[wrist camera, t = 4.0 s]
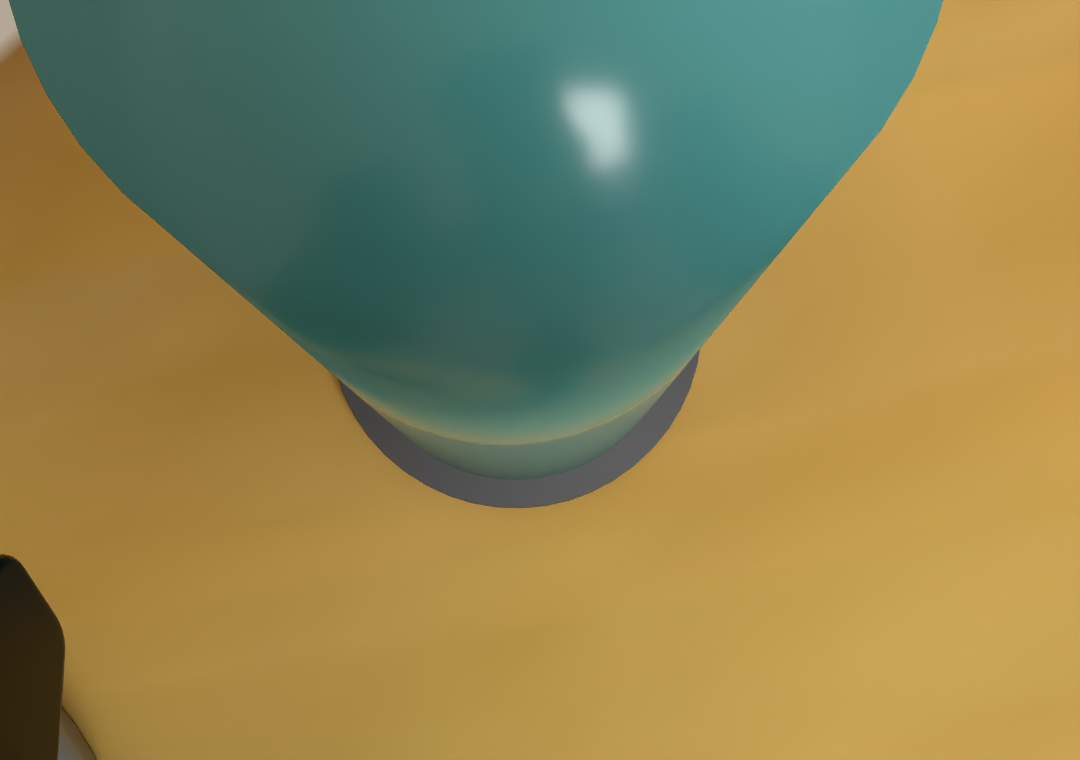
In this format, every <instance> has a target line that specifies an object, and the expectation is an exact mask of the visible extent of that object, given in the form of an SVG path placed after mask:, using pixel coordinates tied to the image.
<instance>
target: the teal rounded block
mask: <svg viewBox="0 0 1080 760" xmlns="http://www.w3.org/2000/svg"><path fill="white" fill-rule="evenodd" d="M9 2H10V6H11V9H12V12H13V15H14V19H15V22H16V25H17V29H18V32H19V35H20V38H21V41H22V44H23V46H24V48H25V50H26V52H27V54H28V56H29V58H30V60H31V63H32V65H33V67H34V69H35V71H36V73H37V75H38V77H39V79H40V82H41V84H42V86H43V88H44V90H45V92H46V94H47V96H48V97H49V99H50V100H51V102H52V104H53V105H54V107H55V108H56V110H57V111H58V113H59V114H60V116H61V117H62V119H63V120H64V122H65V123H66V125H67V126H68V128H69V129H70V131H71V132H72V134H73V135H74V137H75V138H76V140H77V141H78V143H79V144H80V146H81V147H82V148H83V149H84V150H85V151H86V152H87V154H88V155H89V156H90V157H91V158H92V159H93V160H94V161H95V163H96V164H97V165H98V166H99V167H100V168H101V169H102V170H103V171H104V173H105V174H106V175H107V176H108V177H109V178H110V179H111V180H112V182H113V183H114V184H115V185H116V186H117V187H118V188H119V189H120V190H121V192H122V193H123V194H125V195H126V196H127V197H128V198H129V199H130V200H131V201H133V202H134V203H135V204H136V205H137V206H138V207H140V208H141V209H142V210H143V211H144V212H145V213H147V214H148V215H149V216H150V217H151V218H152V219H154V220H155V221H156V222H157V223H158V224H159V225H160V226H162V227H163V228H164V229H165V230H166V231H167V232H169V233H170V234H171V235H172V236H173V237H174V238H176V239H177V240H178V241H179V242H180V243H181V244H183V245H184V246H185V247H186V248H187V249H188V250H190V251H191V252H192V253H193V254H194V255H195V256H196V257H198V258H199V259H200V260H201V261H202V262H203V263H205V264H206V265H207V266H208V267H209V268H210V269H212V270H213V271H214V272H215V273H216V274H217V275H219V276H220V277H221V278H222V279H223V280H224V281H225V282H227V283H228V284H229V285H230V286H231V287H232V288H234V289H235V290H236V291H237V292H238V293H239V294H241V295H242V296H243V297H244V298H245V299H246V300H248V301H249V302H250V303H251V304H252V305H253V306H254V307H256V308H257V309H258V310H259V311H260V312H261V313H263V314H264V315H265V316H266V317H267V318H268V319H270V320H271V321H272V322H273V323H274V324H275V325H277V326H278V327H279V328H280V329H281V330H282V331H284V332H285V333H286V334H287V335H288V336H289V337H290V338H292V339H293V340H294V341H295V342H296V343H297V344H299V345H300V346H301V347H302V348H303V349H304V350H306V351H307V352H308V353H309V354H310V355H311V356H313V357H314V358H315V359H316V360H317V361H318V362H319V363H321V364H322V365H323V366H324V367H325V368H326V369H328V370H329V371H330V372H331V373H332V374H333V375H335V376H336V377H337V378H338V379H339V380H340V381H342V382H343V383H344V384H345V385H346V386H347V387H348V388H350V389H351V390H352V391H353V392H354V393H355V394H357V395H358V396H359V397H360V398H361V399H362V400H364V401H365V402H366V403H367V404H368V405H369V406H371V407H372V408H373V409H374V410H375V411H376V412H378V413H379V414H380V415H381V416H382V417H383V418H384V419H386V420H387V421H388V422H389V423H390V424H391V425H393V426H394V427H395V428H396V429H397V430H398V431H400V432H401V433H402V434H403V435H404V436H405V437H407V438H408V439H409V440H410V441H411V442H412V443H414V444H415V445H416V446H417V447H418V448H420V449H421V450H423V451H424V452H426V453H427V454H429V455H430V456H432V457H434V458H435V459H437V460H439V461H441V462H443V463H445V464H447V465H449V466H451V467H454V468H456V469H458V470H461V471H465V472H468V473H471V474H474V475H478V476H483V477H489V478H495V479H509V480H524V479H535V478H543V477H547V476H552V475H556V474H561V473H564V472H567V471H569V470H572V469H575V468H577V467H580V466H582V465H584V464H586V463H588V462H590V461H592V460H594V459H596V458H598V457H600V456H601V455H603V454H604V453H605V452H607V451H608V450H610V449H611V448H612V447H614V446H615V445H617V444H618V443H619V442H620V441H621V440H622V439H623V438H624V437H625V436H627V435H628V434H629V433H630V432H631V431H632V430H633V429H634V428H635V426H636V425H637V424H638V423H639V422H640V420H641V419H642V418H643V417H644V416H645V414H646V413H647V412H648V411H649V410H650V408H651V407H652V406H653V405H654V404H655V402H656V401H657V400H658V399H659V397H660V396H661V395H662V394H663V393H664V391H665V390H666V389H667V388H668V387H669V385H670V384H671V383H672V382H673V381H674V379H675V378H676V377H677V376H678V375H679V373H680V372H681V371H682V370H683V369H684V367H685V366H686V365H687V364H688V363H689V361H690V360H691V359H692V358H693V356H694V355H695V354H696V353H697V352H698V350H699V349H700V348H701V347H702V346H703V344H704V343H705V342H706V341H707V340H708V338H709V337H710V336H711V335H712V334H713V332H714V331H715V330H716V329H717V328H718V326H719V325H720V324H721V323H722V321H723V320H724V319H725V318H726V317H727V315H728V314H729V313H730V312H731V311H732V309H733V308H734V307H735V306H736V305H737V303H738V302H739V301H740V300H741V299H742V297H743V296H744V295H745V294H746V293H747V291H748V290H749V289H750V288H751V287H752V285H753V284H754V283H755V282H756V280H757V279H758V278H759V277H760V276H761V274H762V273H763V272H764V271H765V270H766V268H767V267H768V266H769V265H770V264H771V262H772V261H773V260H774V259H775V258H776V256H777V255H778V254H779V253H780V252H781V250H782V249H783V248H784V247H785V245H786V244H787V243H788V242H789V241H790V239H791V238H792V237H793V236H794V235H795V233H796V232H797V231H798V230H799V229H800V227H801V226H802V225H803V224H804V223H805V221H806V220H807V219H808V218H809V217H810V215H811V214H812V213H813V212H814V211H815V209H816V208H817V207H818V206H819V204H820V203H821V202H822V201H823V200H824V198H825V197H826V196H827V195H828V194H829V192H830V191H831V190H832V189H833V188H834V186H835V185H836V184H837V183H838V182H839V180H840V179H841V178H842V177H843V176H844V174H845V173H846V172H847V171H848V169H849V168H850V167H851V166H852V165H853V163H854V162H855V161H856V160H857V159H858V157H859V156H860V155H861V154H862V152H863V151H864V150H865V149H866V148H867V146H868V145H869V144H870V143H871V141H872V140H873V139H874V138H875V137H876V135H877V134H878V133H879V132H880V131H881V129H882V128H883V126H884V125H885V123H886V121H887V120H888V118H889V116H890V115H891V113H892V111H893V110H894V108H895V107H896V105H897V103H898V102H899V100H900V98H901V97H902V95H903V93H904V92H905V90H906V89H907V87H908V85H909V84H910V82H911V80H912V79H913V77H914V75H915V72H916V70H917V68H918V65H919V63H920V61H921V58H922V56H923V54H924V51H925V49H926V47H927V44H928V42H929V40H930V37H931V35H932V33H933V30H934V28H935V26H936V23H937V21H938V17H939V13H940V9H941V6H942V2H943V0H9Z"/></svg>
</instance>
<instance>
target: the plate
mask: <svg viewBox="0 0 1080 760" xmlns="http://www.w3.org/2000/svg"><path fill="white" fill-rule="evenodd" d="M58 760H96V758H95V756H94V754H93V752H92V751H91V749H90V748H89V746H88V744H87V743H86V741H85V739H84V738H83V736H82V734H81V733H80V731H79V729H78V728H77V726H76V725H75V723H74V722H73V721H72V720H71V719H70V717H69V716H68V715H67V714H66V712H65V711H64V710H63V709H62V707H61V723H60V739H59V754H58Z"/></svg>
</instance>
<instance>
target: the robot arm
mask: <svg viewBox="0 0 1080 760" xmlns="http://www.w3.org/2000/svg"><path fill="white" fill-rule="evenodd" d="M64 660H65V641H64V635H63V631H62V628H61V625H60V623H59V621H58V619H57V617H56V615H55V614H54V612H53V611H52V609H51V608H50V606H49V605H48V603H47V602H46V600H45V599H44V597H43V596H42V594H41V593H40V591H39V589H38V588H37V586H36V585H35V583H34V582H33V580H32V579H31V577H30V576H29V574H28V573H27V571H26V570H25V568H24V567H23V565H22V564H21V563H20V562H19V561H18V560H17V559H15V558H14V557H12V556H10V555H0V760H58V754H59V739H60V723H61V707H62V692H63V676H64Z"/></svg>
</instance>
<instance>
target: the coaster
mask: <svg viewBox="0 0 1080 760" xmlns="http://www.w3.org/2000/svg"><path fill="white" fill-rule="evenodd" d="M699 350H700V349H699ZM699 350H698V352H697V353H696V354H695V355H694V356H693V358H692V359H691V360H690V361H689V363H688V364H687V365H686V366H685V367H684V369H683V370H682V371H681V372H680V373H679V375H678V376H677V377H676V378H675V379H674V381H673V382H672V383H671V384H670V385H669V387H668V388H667V389H666V390H665V391H664V393H663V394H662V395H661V396H660V397H659V399H658V400H657V401H656V402H655V404H654V405H653V406H652V407H651V408H650V410H649V411H648V412H647V413H646V414H645V416H644V417H643V418H642V419H641V420H640V422H639V423H638V424H637V425H636V426H635V428H634V429H633V430H632V431H631V432H630V433H629V434H628V435H627V436H625V437H624V438H623V439H622V440H621V441H620V442H619V443H618V444H617V445H615V446H614V447H612V448H611V449H610V450H608V451H607V452H605V453H604V454H603V455H601V456H600V457H598V458H596V459H594V460H592V461H590V462H588V463H586V464H584V465H582V466H580V467H577V468H575V469H572V470H569V471H567V472H564V473H561V474H556V475H552V476H547V477H543V478H535V479H524V480H509V479H495V478H489V477H483V476H478V475H474V474H471V473H468V472H465V471H461V470H458V469H456V468H454V467H451V466H449V465H447V464H445V463H443V462H441V461H439V460H437V459H435V458H434V457H432V456H430V455H429V454H427V453H426V452H424V451H423V450H421V449H420V448H418V447H417V446H416V445H415V444H414V443H412V442H411V441H410V440H409V439H408V438H407V437H405V436H404V435H403V434H402V433H401V432H400V431H398V430H397V429H396V428H395V427H394V426H393V425H391V424H390V423H389V422H388V421H387V420H386V419H384V418H383V417H382V416H381V415H380V414H379V413H378V412H376V411H375V410H374V409H373V408H372V407H371V406H369V405H368V404H367V403H366V402H365V401H364V400H362V399H361V398H360V397H359V396H358V395H357V394H355V393H354V392H353V391H352V390H351V389H350V388H348V387H347V386H346V385H345V384H344V383H343V382H342V381H340V380H339V382H340V385H341V388H342V391H343V394H344V396H345V398H346V400H347V402H348V404H349V406H350V408H351V410H352V412H353V414H354V416H355V418H356V419H357V421H358V422H359V424H360V425H361V426H362V428H363V429H364V431H365V432H366V434H367V435H368V437H369V438H370V439H371V440H372V441H373V442H374V443H375V445H376V446H377V447H378V448H379V449H380V450H381V451H382V452H383V453H384V455H386V456H387V457H388V458H389V459H390V460H391V461H393V462H394V463H395V464H396V465H397V466H399V467H400V468H401V469H402V470H403V471H405V472H406V473H408V474H409V475H411V476H413V477H414V478H416V479H417V480H419V481H420V482H422V483H423V484H425V485H427V486H429V487H431V488H433V489H435V490H438V491H440V492H442V493H444V494H446V495H448V496H451V497H454V498H458V499H461V500H464V501H467V502H470V503H475V504H481V505H486V506H492V507H504V508H528V507H539V506H547V505H551V504H556V503H560V502H564V501H569V500H571V499H574V498H577V497H580V496H582V495H585V494H588V493H590V492H593V491H595V490H596V489H598V488H600V487H602V486H604V485H606V484H608V483H610V482H612V481H613V480H615V479H616V478H618V477H619V476H620V475H622V474H623V473H625V472H626V471H627V470H629V469H630V468H632V467H633V466H634V465H635V464H636V463H637V462H638V461H640V460H641V459H642V458H643V457H644V456H645V455H646V454H647V453H648V452H649V451H650V450H651V449H652V448H653V447H654V446H655V445H656V444H657V442H658V441H659V440H660V439H661V437H662V436H663V435H664V434H665V433H666V431H667V430H668V429H669V427H670V426H671V424H672V422H673V421H674V419H675V417H676V416H677V414H678V413H679V411H680V409H681V407H682V405H683V403H684V401H685V398H686V396H687V394H688V391H689V389H690V387H691V384H692V380H693V377H694V373H695V370H696V367H697V363H698V356H699Z"/></svg>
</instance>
